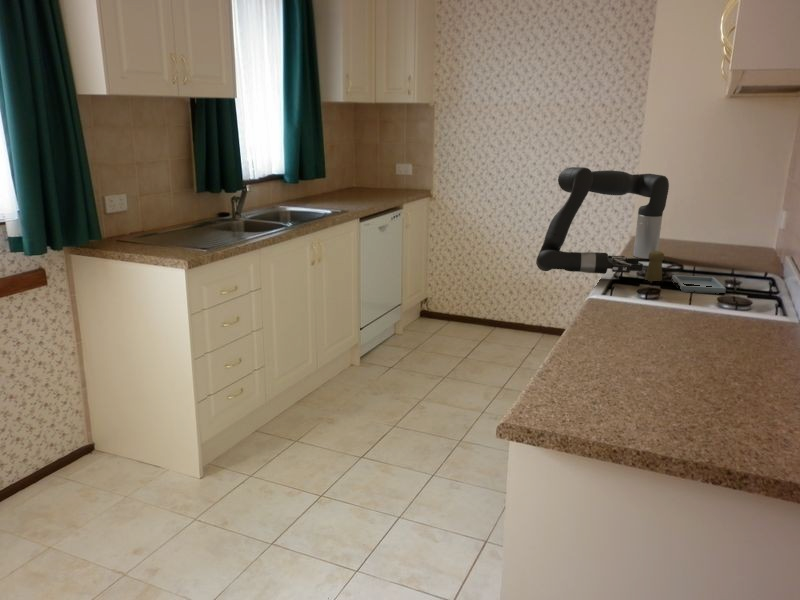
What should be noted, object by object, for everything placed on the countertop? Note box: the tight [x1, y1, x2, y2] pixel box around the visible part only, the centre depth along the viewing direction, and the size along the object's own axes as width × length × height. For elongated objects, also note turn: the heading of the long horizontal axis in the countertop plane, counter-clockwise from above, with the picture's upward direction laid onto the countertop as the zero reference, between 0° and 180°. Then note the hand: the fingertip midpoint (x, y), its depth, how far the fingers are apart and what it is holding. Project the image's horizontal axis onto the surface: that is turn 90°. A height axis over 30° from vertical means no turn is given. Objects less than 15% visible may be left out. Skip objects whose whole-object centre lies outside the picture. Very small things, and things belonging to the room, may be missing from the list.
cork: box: [644, 250, 665, 281], centre depth 232 cm, size 6×6×11 cm
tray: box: [671, 274, 727, 295], centre depth 227 cm, size 14×14×2 cm
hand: (640, 264), depth 233 cm, fingers open, 8 cm apart
